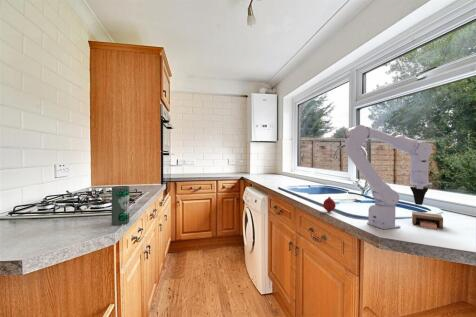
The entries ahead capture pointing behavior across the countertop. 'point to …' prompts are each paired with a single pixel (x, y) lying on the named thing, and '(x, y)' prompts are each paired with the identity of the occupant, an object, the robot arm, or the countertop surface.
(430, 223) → the tile
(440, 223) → the shelf
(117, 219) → the can
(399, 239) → the countertop surface
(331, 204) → the onion
